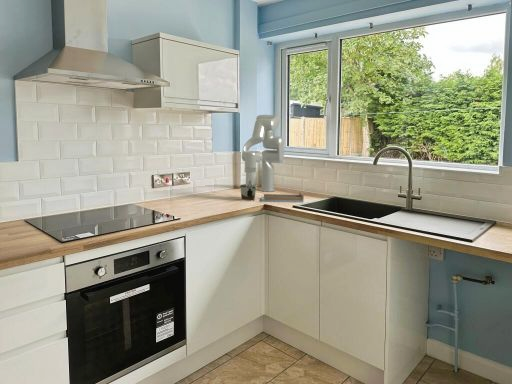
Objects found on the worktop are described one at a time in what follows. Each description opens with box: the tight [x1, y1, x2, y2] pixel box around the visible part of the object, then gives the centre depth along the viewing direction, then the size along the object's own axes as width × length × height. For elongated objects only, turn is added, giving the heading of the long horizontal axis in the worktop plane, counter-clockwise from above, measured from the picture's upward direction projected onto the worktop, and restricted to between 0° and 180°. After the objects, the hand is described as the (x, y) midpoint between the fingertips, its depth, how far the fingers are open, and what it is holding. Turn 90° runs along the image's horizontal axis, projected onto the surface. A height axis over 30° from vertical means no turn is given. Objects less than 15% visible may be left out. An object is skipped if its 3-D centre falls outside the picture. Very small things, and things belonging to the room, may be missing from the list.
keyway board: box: [260, 191, 305, 203], centre depth 282 cm, size 12×28×5 cm, turn 91°
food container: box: [239, 183, 258, 202], centre depth 283 cm, size 12×6×10 cm, turn 65°
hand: (249, 195), depth 283 cm, fingers open, 8 cm apart
